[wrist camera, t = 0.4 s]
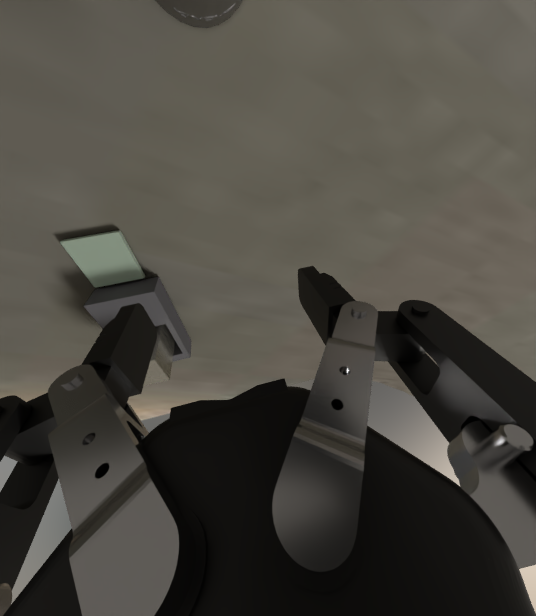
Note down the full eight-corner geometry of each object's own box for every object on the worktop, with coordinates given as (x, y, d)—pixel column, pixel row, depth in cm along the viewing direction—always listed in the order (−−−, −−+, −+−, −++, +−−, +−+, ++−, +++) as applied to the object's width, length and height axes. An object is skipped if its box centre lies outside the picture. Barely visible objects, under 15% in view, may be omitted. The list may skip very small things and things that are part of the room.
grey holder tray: (94, 289, 28) (83, 306, 25) (158, 276, 29) (154, 291, 26) (143, 352, 36) (138, 369, 34) (191, 341, 37) (190, 357, 34)
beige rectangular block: (132, 323, 32) (115, 369, 26) (164, 316, 32) (154, 359, 26) (147, 343, 35) (134, 388, 29) (175, 336, 35) (169, 379, 29)
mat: (62, 239, 24) (60, 242, 23) (120, 230, 24) (118, 231, 24) (96, 285, 28) (94, 287, 27) (145, 275, 28) (144, 278, 28)
